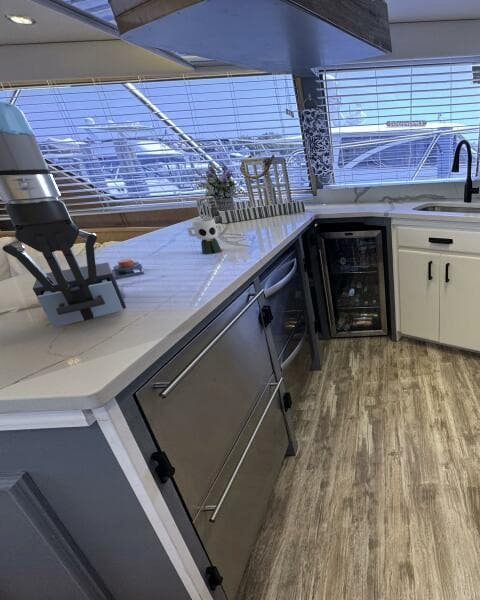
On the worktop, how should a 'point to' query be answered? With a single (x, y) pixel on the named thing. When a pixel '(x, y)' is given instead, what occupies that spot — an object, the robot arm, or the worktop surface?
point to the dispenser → (101, 271)
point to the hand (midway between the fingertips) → (89, 317)
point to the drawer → (67, 314)
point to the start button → (126, 263)
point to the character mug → (206, 234)
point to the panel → (127, 271)
